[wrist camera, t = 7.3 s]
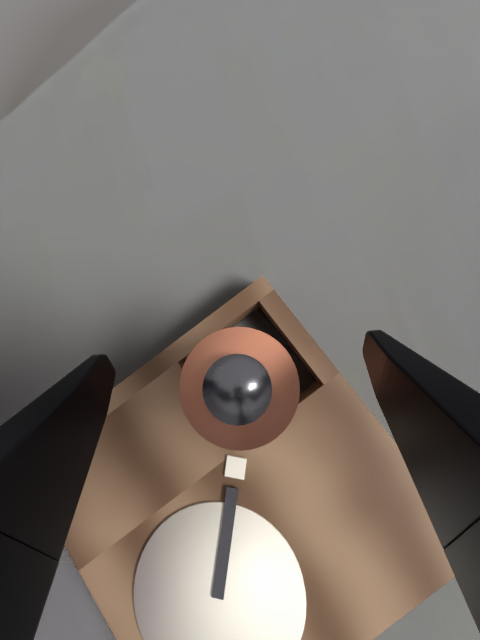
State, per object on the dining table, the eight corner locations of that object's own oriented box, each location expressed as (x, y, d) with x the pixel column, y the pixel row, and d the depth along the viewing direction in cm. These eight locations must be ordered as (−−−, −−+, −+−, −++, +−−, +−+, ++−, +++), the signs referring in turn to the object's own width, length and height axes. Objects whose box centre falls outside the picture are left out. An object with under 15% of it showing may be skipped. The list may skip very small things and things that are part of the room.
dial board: (202, 717, 18) (191, 786, 15) (46, 447, 21) (12, 462, 18) (453, 526, 18) (488, 558, 15) (262, 284, 21) (262, 273, 18)
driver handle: (268, 412, 20) (274, 479, 9) (211, 387, 20) (154, 424, 10) (290, 353, 20) (321, 353, 9) (234, 331, 20) (202, 307, 10)
